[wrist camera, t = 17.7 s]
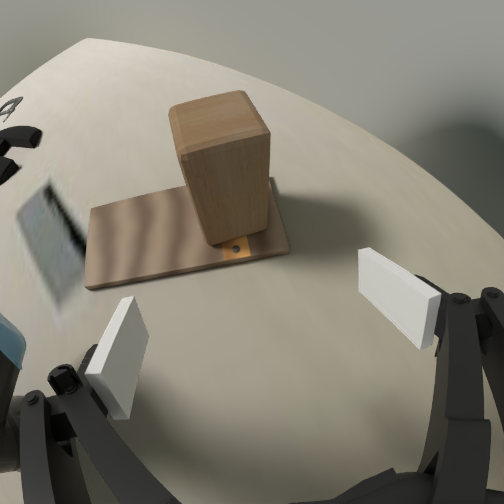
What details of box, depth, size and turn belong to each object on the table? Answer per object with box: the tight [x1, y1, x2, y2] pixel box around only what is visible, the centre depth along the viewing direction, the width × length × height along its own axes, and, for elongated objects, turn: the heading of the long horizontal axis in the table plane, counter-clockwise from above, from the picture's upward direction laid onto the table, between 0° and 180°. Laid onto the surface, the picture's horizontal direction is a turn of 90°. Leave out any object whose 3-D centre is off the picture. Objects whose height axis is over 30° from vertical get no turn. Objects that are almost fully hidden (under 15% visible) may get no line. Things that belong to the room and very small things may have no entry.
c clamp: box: [0, 97, 23, 122], centre depth 79 cm, size 20×17×3 cm
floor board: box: [84, 181, 290, 290], centre depth 47 cm, size 34×16×2 cm, turn 101°
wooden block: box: [168, 90, 271, 245], centre depth 38 cm, size 10×10×20 cm
